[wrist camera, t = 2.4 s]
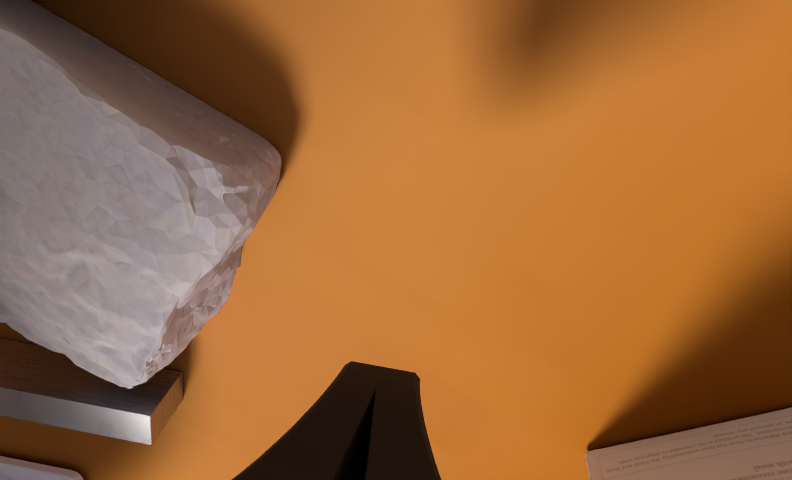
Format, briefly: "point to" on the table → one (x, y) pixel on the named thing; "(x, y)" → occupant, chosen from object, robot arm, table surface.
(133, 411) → the bench stop
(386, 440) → the robot arm
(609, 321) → the table surface
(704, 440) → the supplement box
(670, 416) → the table surface
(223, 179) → the stone block
